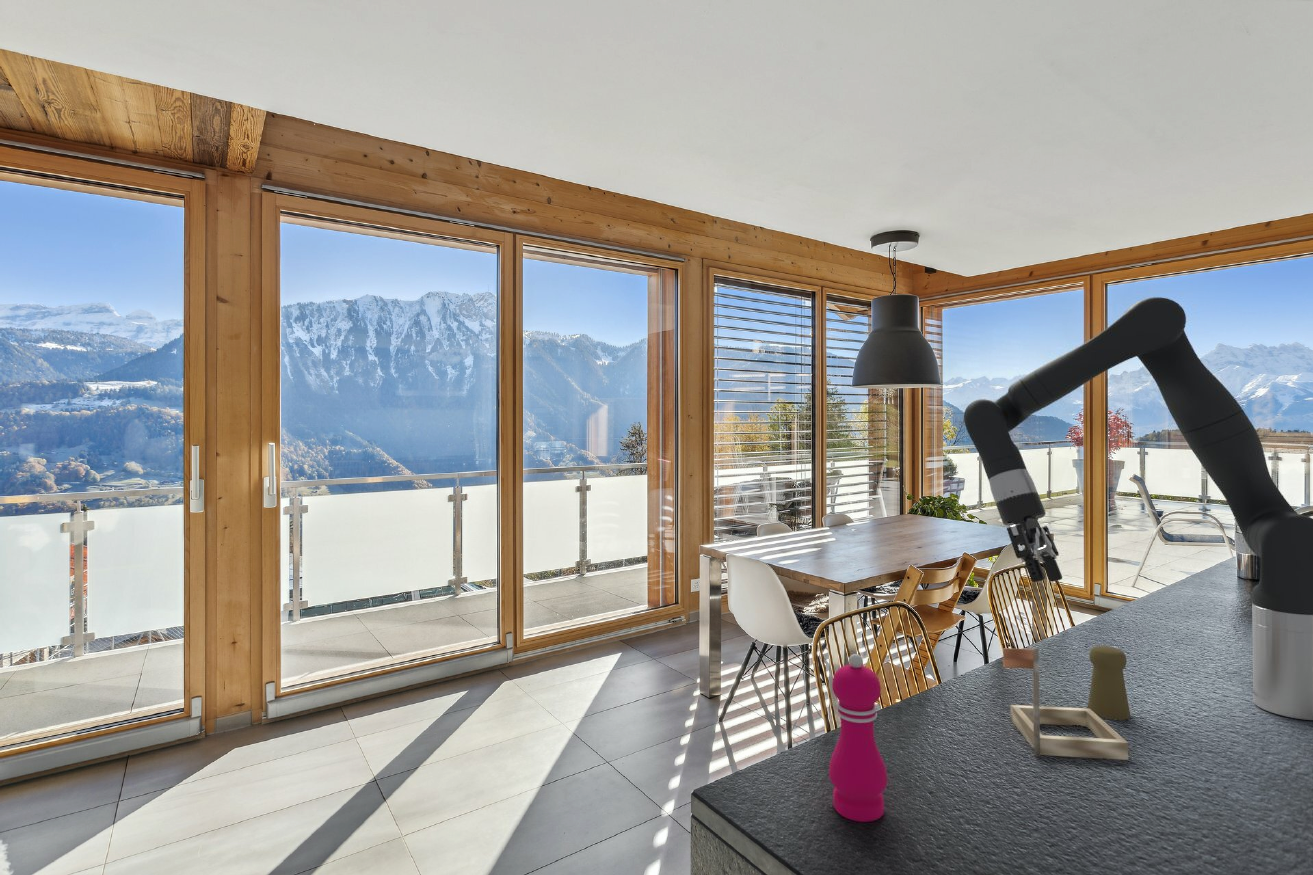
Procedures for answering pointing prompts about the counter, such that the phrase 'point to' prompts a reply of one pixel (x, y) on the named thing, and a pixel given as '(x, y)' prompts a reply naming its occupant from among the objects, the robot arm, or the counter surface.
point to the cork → (1108, 683)
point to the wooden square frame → (1060, 720)
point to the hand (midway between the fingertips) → (1048, 580)
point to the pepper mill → (857, 745)
